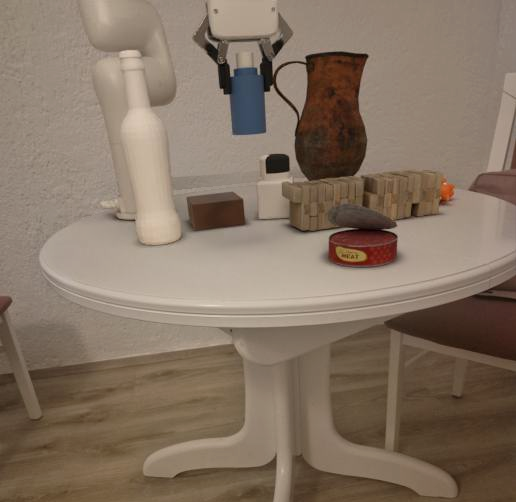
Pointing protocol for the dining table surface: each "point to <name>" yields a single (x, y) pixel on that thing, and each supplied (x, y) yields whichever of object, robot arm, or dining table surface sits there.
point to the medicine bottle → (273, 186)
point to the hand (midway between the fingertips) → (246, 91)
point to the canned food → (361, 237)
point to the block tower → (364, 196)
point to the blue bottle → (247, 97)
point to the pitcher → (330, 116)
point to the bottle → (147, 158)
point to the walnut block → (215, 210)
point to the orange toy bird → (446, 190)
